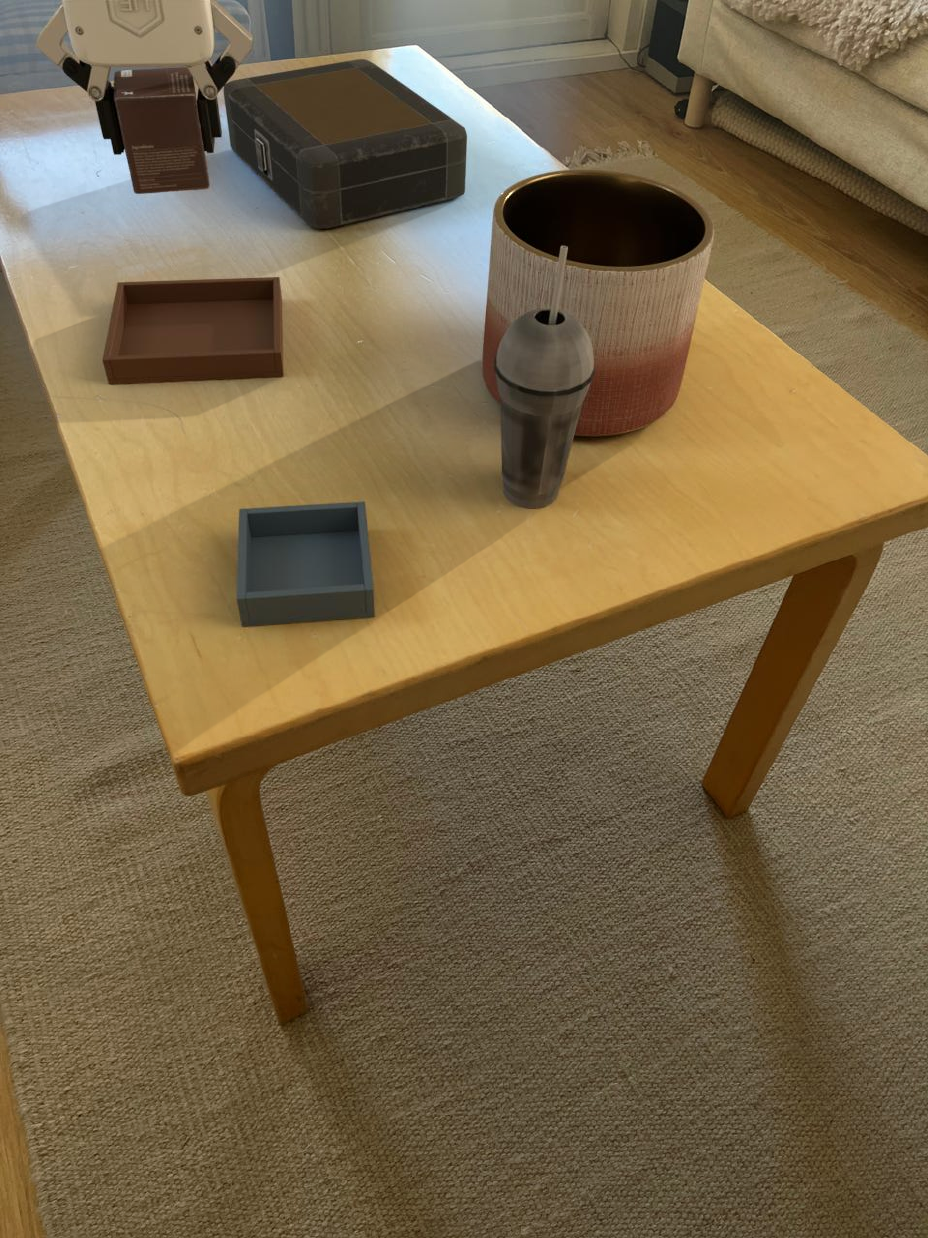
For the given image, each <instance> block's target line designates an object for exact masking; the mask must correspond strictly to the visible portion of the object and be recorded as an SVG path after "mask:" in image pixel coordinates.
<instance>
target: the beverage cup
mask: <svg viewBox="0 0 928 1238" xmlns="http://www.w3.org/2000/svg"><path fill="white" fill-rule="evenodd" d="M567 250H568V247H567V246H561V248H560V255H559V261H558V267H557V273H556V280H555V286H554V292H553V299H552V305H551V308H541V309H535V310H532V311H529V312H527V313H525V314H523V315H522V316H520V317H519V318H518V319H516V320H515V321H514V322H513V323H512V324H511V325H510V326H509V328H508V329H507V331H506V332H505V334H504V336H503V338H502V340H501V341H500V344H499V347H498V351H497V355H496V357H495V360H494V370H495V372H496V377H497V386H498V392H499V394H500V404H499V405H500V408H499V409H500V412H499V413H500V446H501V447H500V454H501V457H500V458H501V461H500V462H501V478H502V492H503V495H504V496H505V498H506V499H507V500H508V501H509V502H510V503H512V504H514V505H516V506H518V507H521V508H525V509H540V508H544V507H548V506H549V505H552V504H553V503H554V502H555V501H556V500H557V499H558V496H559V494H560V489H561V485H562V482H563V480H564V478H565V473H566V470H567V465H568V461H569V457H570V454H571V450H572V446H573V442H574V438H575V435H574V434H575V430H576V426H577V422H578V418H579V414H580V410H581V406H582V403H583V401H584V398H585V396H586V394H587V391H588V389H589V386H590V383H591V381H592V379H593V377H594V374H595V371H594V357H593V349H592V344H591V340H590V338H589V336H588V334H587V332H586V331H585V329H584V328H583V326H582V325H581V324H580V322H579V321H578V320H576V319H575V318H574V317H573V316H571V315H570V314H568V313H566V312H563V311H561V310H558V306H559V300H560V294H561V288H562V281H563V275H564V269H565V263H566V256H567Z"/></svg>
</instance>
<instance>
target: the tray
mask: <svg viewBox="0 0 928 1238" xmlns="http://www.w3.org/2000/svg"><path fill="white" fill-rule="evenodd" d="M283 328H284V326H283V296H282V287H281V278H280V276H270V277H269V276H268V277H239V278H238V277H236V278H235V277H233V278H206V279H176V280H174V279H173V280H147V281H146V280H145V281H117V284H116V290H115V294H114V298H113V304H112V310H111V316H110V319H109V325H108V330H107V336H106V341H105V345H104V350H103V355H102V364H103V368H104V371H105V375H106V379H107V384H108V385H123V384H124V385H125V384H145V383H146V384H147V383H149V384H150V383H169V382H172V383H173V382H190V381H191V382H193V381H194V382H195V381H217V380H237V379H239V380H240V379H258V378H259V379H260V378H262V379H263V378H283V377H284V329H283Z"/></svg>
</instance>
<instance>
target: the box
mask: <svg viewBox="0 0 928 1238" xmlns="http://www.w3.org/2000/svg"><path fill="white" fill-rule="evenodd" d="M113 87H114V101H115V105H116V110H117V114H118V120H119V124H120V129H121V134H122V139H123V144H124V148H125V149H124V153H125V158H126V161H127V166H128V170H129V175H130V179H131V185H132V189H133V193H134V194H136V195H143V194H144V195H145V194H159V193H169V192H170V193H171V192H183V191H199V190H207V189H210V176H209V171H208V169H209V168H208V163H207V157H206V151H204V147H203V140H202V134H201V128H200V121H199V115H198V108H197V92H196V86H195V80H194V78H193V77H192V75H191V73H190V71H189V70H188V68H187V66H179V67H165V68H164V67H161V68H145V69H144V68H143V69H142V68H141V69H126V70H118V71H117V70H116V71H115V72H113Z"/></svg>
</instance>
